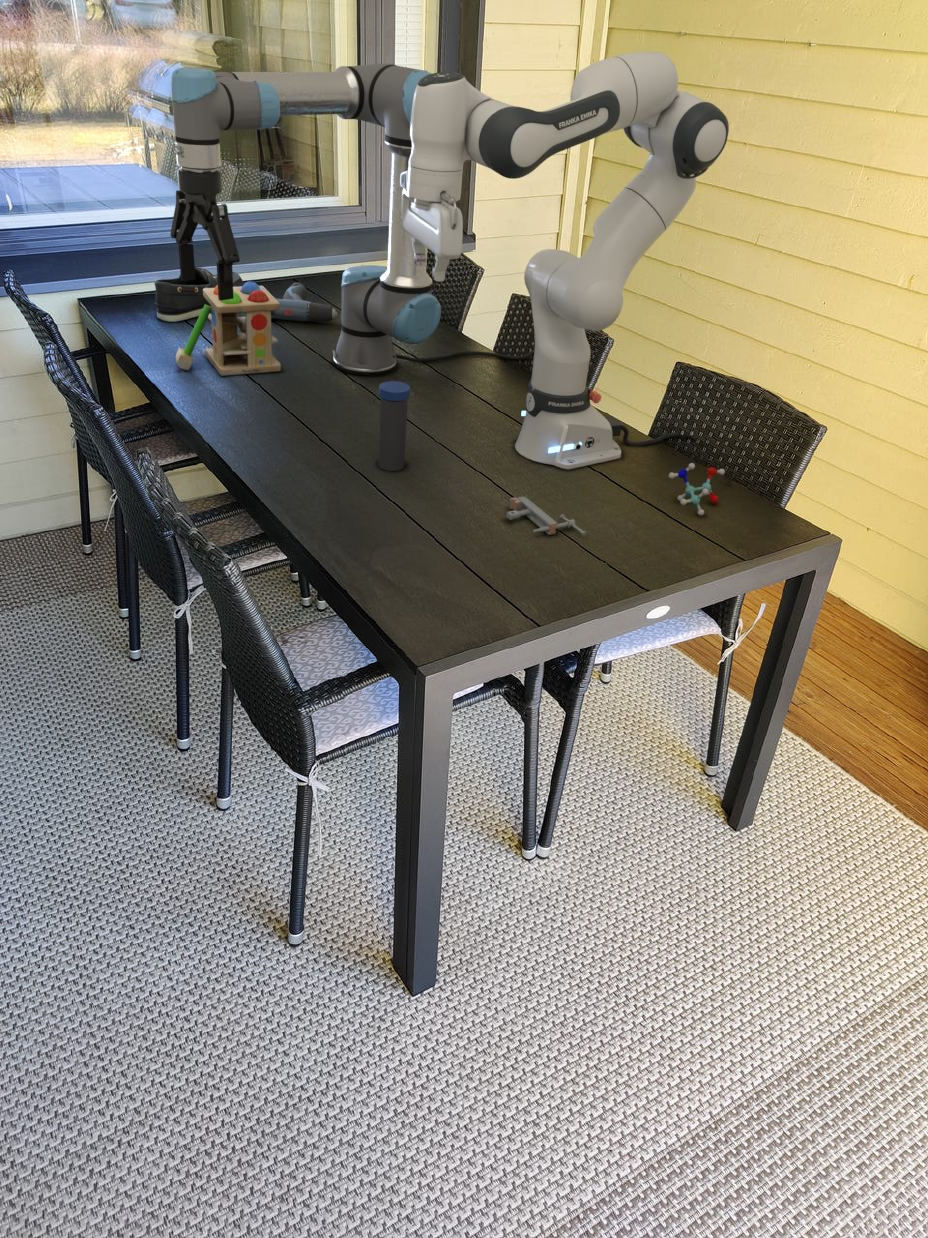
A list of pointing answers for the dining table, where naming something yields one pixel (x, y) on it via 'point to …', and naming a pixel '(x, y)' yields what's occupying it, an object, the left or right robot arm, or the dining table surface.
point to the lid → (394, 391)
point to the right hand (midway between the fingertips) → (428, 272)
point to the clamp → (538, 516)
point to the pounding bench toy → (229, 347)
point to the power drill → (301, 307)
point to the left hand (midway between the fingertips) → (206, 289)
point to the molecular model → (691, 490)
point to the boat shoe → (186, 295)
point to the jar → (392, 434)
